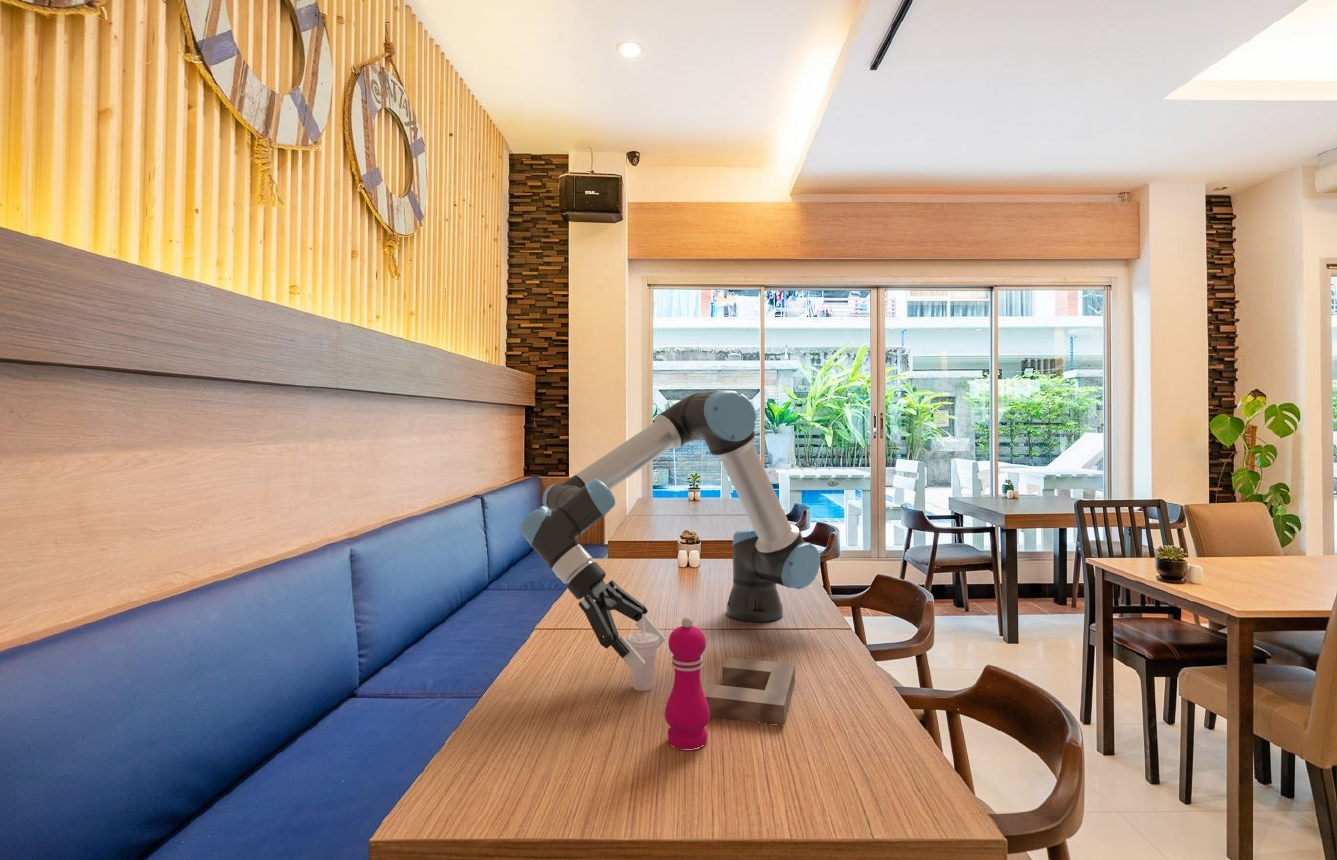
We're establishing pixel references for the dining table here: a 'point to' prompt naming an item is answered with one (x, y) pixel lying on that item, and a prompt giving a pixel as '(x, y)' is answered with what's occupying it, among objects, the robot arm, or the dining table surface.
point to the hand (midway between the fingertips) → (651, 655)
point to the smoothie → (644, 657)
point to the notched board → (753, 691)
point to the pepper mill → (687, 689)
